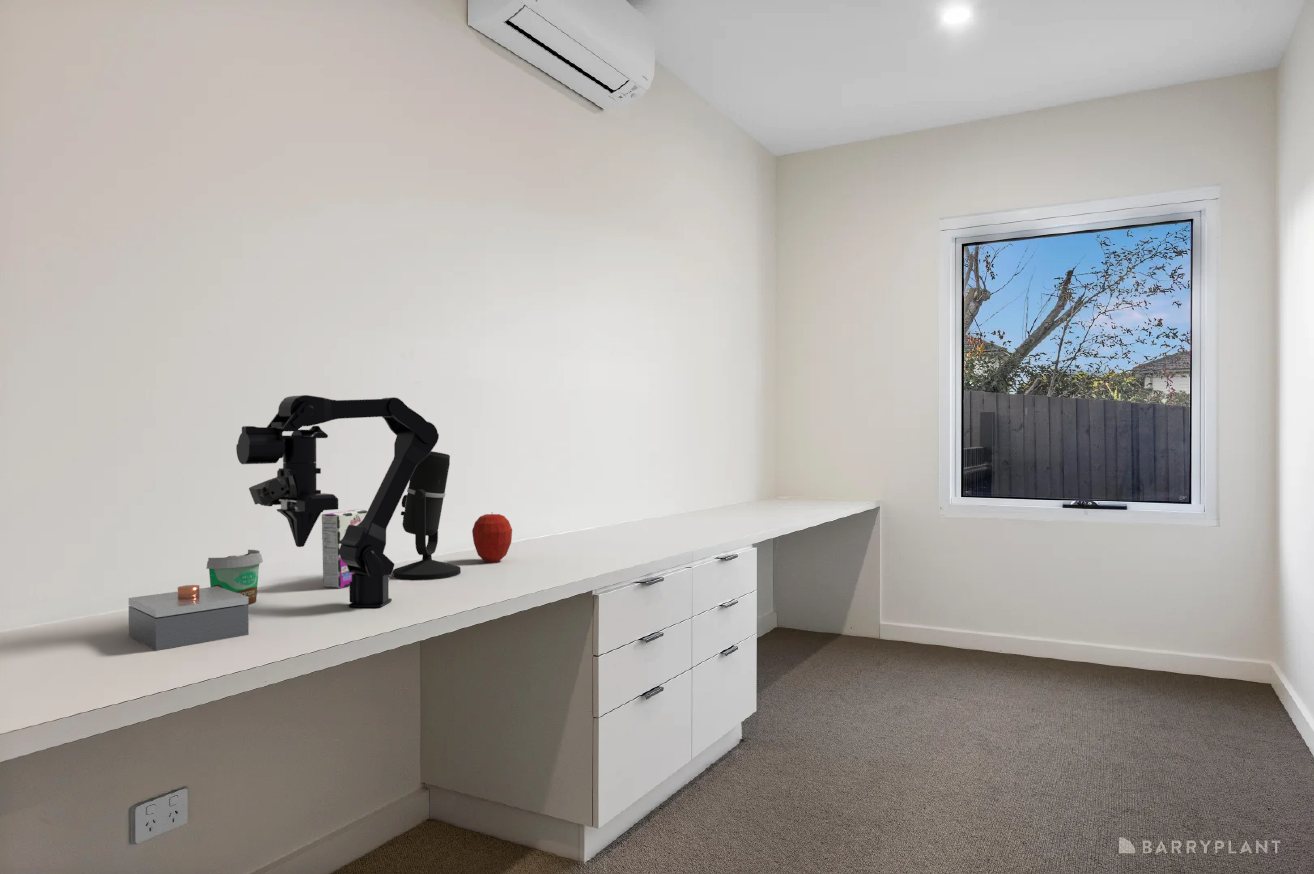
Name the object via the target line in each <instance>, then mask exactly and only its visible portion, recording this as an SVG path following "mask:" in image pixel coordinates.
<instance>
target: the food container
mask: <svg viewBox="0 0 1314 874" xmlns="http://www.w3.org/2000/svg"><path fill="white" fill-rule="evenodd" d="M263 562H264V560H263V556H262V553H261V552H260V550H257V549H247V553H246V554H242V555H229V556H226V557H224V556H223V557H208V561H207V563H206V570H207V569H208V570H209V571H208V573H209V583H210V587H216V586H218V587H221V588H224V589H227V590H230V591H233V592H236V593H239V594H242V595H245V596H248V604H247V605H248V606H249V605H252V604H255V603H256V602H257V598H258V597H257V594H258V585H259V583H258V582H259V573H260V572H259V570H260V564H262V563H263Z"/></svg>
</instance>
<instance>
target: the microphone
mask: <svg viewBox="0 0 1314 874" xmlns="http://www.w3.org/2000/svg"><path fill="white" fill-rule="evenodd" d="M450 459H451V456H450V454H447V453H443V452H439V451H433V450H432V451H431V452H430V454H429V455H428V456H427V457H426V458H424V459H423V460H422V461H421V462H420V463H419V464H418V465H417V466H416V468H415V470H414V472H413V474H412V476H411V478H410V480H409V482H408V486H407V489H406V492H407V494H403V495H404V496H403V495H402V498H401V506H402V508H404V511H403V510H402V511H401V512H400V516H402V519H403V520H402V523H401V524H402V528H403V530H404V531H405V533H408V534H410V535H415V537H414V539H415V540H414V541H415V542H414V543H415V550H416V552H417V554H418V556H422V557H421V558H422V559H421V560H419V561H418V560H417V561H415V562H412V563H409V564H405V565H402V566H400V567H396V568H393V571H392V577H393V578H394V579H400V580H408V581H428V580H429V581H430V580H441V579H447V578H453V577H457V576H458V575H460V574H461V569H462V568H461V566H458V565H457V564H456V565H455V564H451V563H449V562H447V563H446V562H443V561H438V560H436V559H435V560H434V559H432V555H433V554H434V553H435V552H436V550H437V547H438V542H439V541H438V540H439V526H440V520H441V516H442V515H441V514H442V509H443V503H444V499H445V497H446V487H447V481H448V475H449V469H450ZM426 537H427V538H426ZM426 541H427V544H426Z"/></svg>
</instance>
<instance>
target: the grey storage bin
mask: <svg viewBox="0 0 1314 874" xmlns="http://www.w3.org/2000/svg"><path fill="white" fill-rule="evenodd" d="M249 626H250V624H249V605H247V604H244V605H237V606H230V607H224V608H217V609H210V610H204V611H197V612H190V613H184V614H177V615H170V616H164V617H157V618H155V617H153V616H151V615H149V614H147V613H145V612H142V611H140V610H138V609H136V608H134V607H132V606H130V605H128V637H130V638H132V639H134V640H136V641H137V642H140V643H141V644H143V645H145V646H147V647H148V648H151V649H152V650H154V651H156V652H157V651H162V650H167V649H174V648H179V647H184V646H191V645H196V644H202V643H207V642H212V641H219V640H225V639H230V638H236V637H242V636H247V635H249V629H250V627H249Z"/></svg>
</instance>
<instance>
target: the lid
mask: <svg viewBox="0 0 1314 874" xmlns="http://www.w3.org/2000/svg"><path fill="white" fill-rule="evenodd" d="M244 604H248V596H245V595H242V594H239V593H236V592H233V591H230V590H227V589H224V588H221V587H218V586H216V587H211V586H210V587H203V588H202V587H201V588H200V585H198V584H190V585H189V584H186V585H182V586H177V591H173V592H172V591H171V592H163V593H157V594H149V595H142V596H133V597H128V606H132V607H134V608H136V609H138V610H140V611H142V612H145V613H147V614H149V615H151V616H153V617H155V618H157V617H164V616H170V615H177V614H184V613H190V612H197V611H204V610H210V609H217V608H224V607H230V606H237V605H244Z"/></svg>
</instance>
